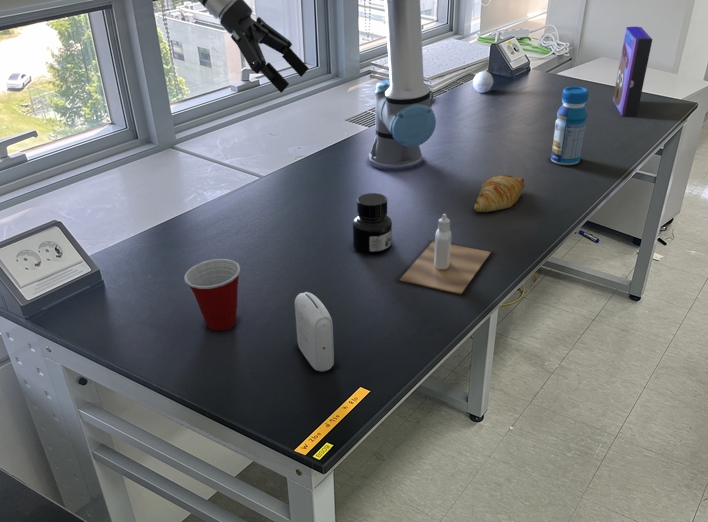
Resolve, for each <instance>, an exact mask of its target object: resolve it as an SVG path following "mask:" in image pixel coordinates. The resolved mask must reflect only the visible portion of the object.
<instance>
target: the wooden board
mask: <svg viewBox="0 0 708 522" xmlns="http://www.w3.org/2000/svg"><path fill="white" fill-rule="evenodd" d="M491 254H492V251H487V250H484V249H478V248H472V247H467V246H461V245H457V244H452V243H451V251H450V265H449V267H448V268H447V269H446V270H440V269H436V267H435V265H434V255H435V240H432V242H431V243H430V244H429V245H428V247H426V248H425V249H424V251H423V252H422V253H421V254H420V255H419V257H417V259H416V260H415V261H414V262H413V264H411V266H410V267H409V268H408V269H407V270H406V272H404V273H403V275H402V276H401V277H400V278H399V279H398V280H399V282H402V283H406V284H410V285H415V286H419V287H424V288H428V289H432V290H437V291H442V292H447V293H451V294H456V295H460V296H461V295H463V293H464V292H465V290H466V288H467V287H468V286H469V285H470V283H471V282H472V281H473V280H474V278H475V276H476V275H477V274H478V272H479V270H481V268H482V267H483V265H484V264H485V262H486V261H487V260H488V258H489V257H490V255H491Z"/></svg>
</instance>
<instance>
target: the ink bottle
mask: <svg viewBox="0 0 708 522" xmlns="http://www.w3.org/2000/svg"><path fill="white" fill-rule="evenodd" d="M356 208H357V209H356V210H357V216H356V217H355V218H354V219H353V222H352V234H353V235H352V237H353V239H352V241H353V249H354V250H355V251H356V252H358V253H360V254H362V255H368V256H377V255H382V254H384V253H387V252H388V251H389V250H391V248H392V244H393V243H392V242H393V221H392V219H391V218H390V217H389V216H388V197H387V196H386V195H384V194H381V193H378V192H377V193H376V192H375V193H373V192H369V193H364V194H361V195H359V196H358V197H357V201H356Z"/></svg>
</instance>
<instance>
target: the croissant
mask: <svg viewBox="0 0 708 522" xmlns="http://www.w3.org/2000/svg"><path fill="white" fill-rule="evenodd" d="M524 188H525V179H524V178H521V177H513V176H512V175H504V174H503V175H495V176H492V177H489V178H488V179H487V180H485V181H484V182H483V184H481V190H480V191H479V194H478V197H477V199H476V203H474V211H475V212H477V213H488V212H494V211H500V210H504V209H508V208H511V207H513V205H514V204H516V203H517V202H518V201H519V199H520V196H521V194H522V193H523V190H524Z"/></svg>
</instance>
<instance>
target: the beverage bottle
mask: <svg viewBox="0 0 708 522" xmlns="http://www.w3.org/2000/svg"><path fill="white" fill-rule="evenodd" d="M589 93H590V92H589V89H588V88H586V87H583V86H567V87H564V88H563V91H562V96H561V102H562V104H561V105H560V107H559V108H558V110H557V113H556V117H557V119H556V120H555V122H554V134H553V142H552V149H551V153H550V160H551V162H553V163H554V164H556V165H561V166H573V165H576V164H578V163H580V162H581V156H582V155H581V154H582V151H583V150H582V149H583V145H584V139H585V138H584V137H585V133H586V128H587V118H588V115H589V114H588V109H587V107H586V105H585V104H587V102H588V99H589Z"/></svg>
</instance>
